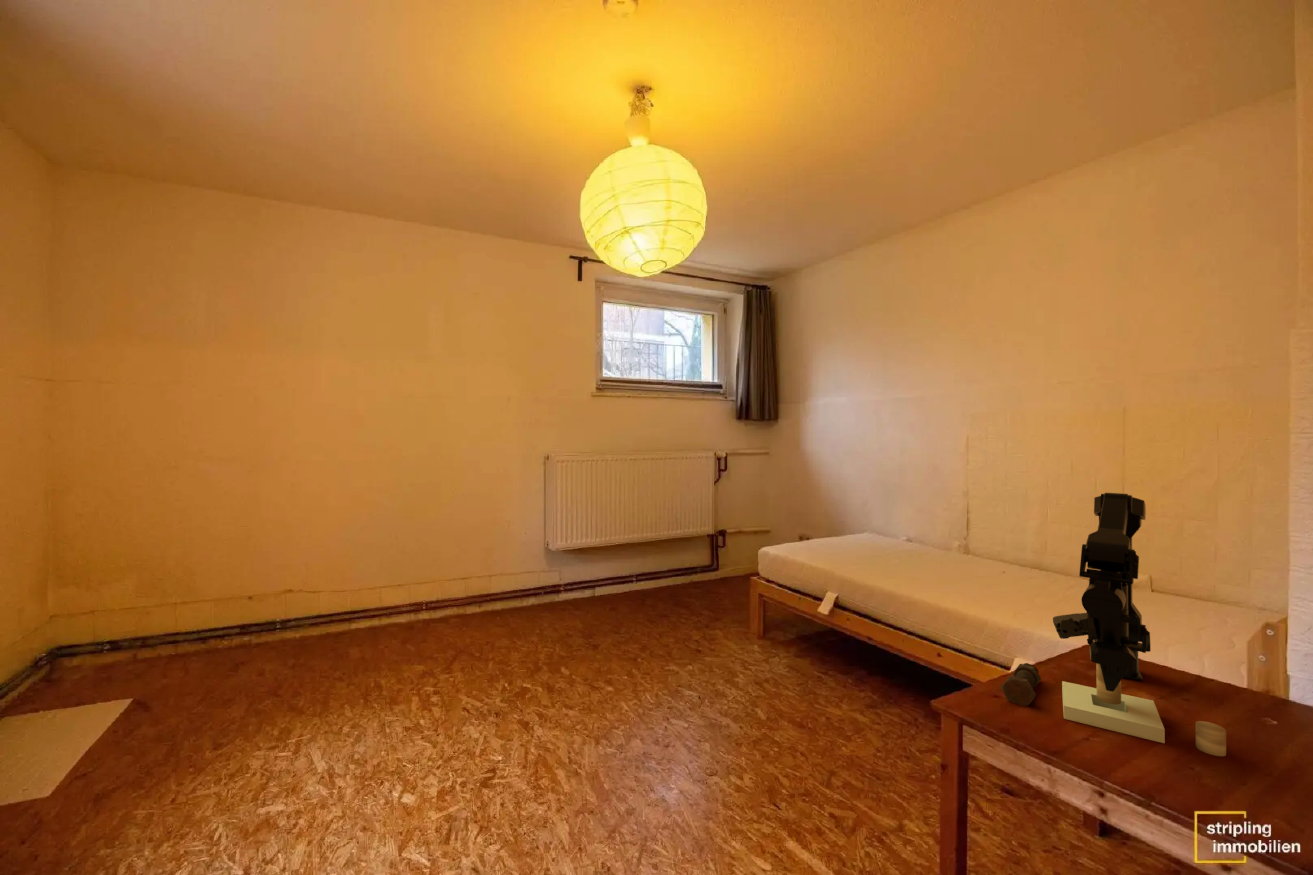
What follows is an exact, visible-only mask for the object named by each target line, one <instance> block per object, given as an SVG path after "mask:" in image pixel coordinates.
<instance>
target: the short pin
mask: <svg viewBox="0 0 1313 875" xmlns="http://www.w3.org/2000/svg"><path fill="white" fill-rule="evenodd" d="M1195 747H1196V749H1198V750H1199V751H1201V752H1203V753H1205V754H1208V755H1212V756H1216V757H1226V756H1227V730H1226V728H1224V727H1222V725H1218V724H1216V723H1212V722H1209V721H1203V720H1198V721H1195Z"/></svg>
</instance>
